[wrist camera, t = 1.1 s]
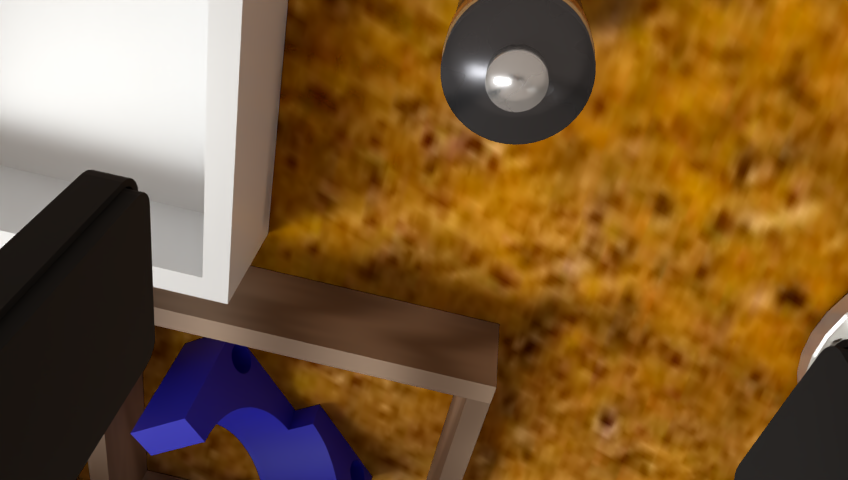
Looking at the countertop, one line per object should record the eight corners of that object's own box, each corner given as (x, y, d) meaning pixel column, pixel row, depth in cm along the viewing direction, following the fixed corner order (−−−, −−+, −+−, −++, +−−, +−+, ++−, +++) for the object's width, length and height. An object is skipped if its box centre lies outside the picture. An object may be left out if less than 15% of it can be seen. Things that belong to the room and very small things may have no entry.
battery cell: (596, -44, 23) (624, 22, 16) (558, 73, 25) (569, 170, 19) (475, -73, 23) (456, -19, 16) (448, 47, 25) (422, 135, 19)
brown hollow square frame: (499, 324, 32) (496, 387, 28) (422, 544, 42) (413, 610, 38) (115, 233, 31) (67, 286, 28) (131, 477, 42) (97, 536, 38)
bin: (304, -184, 22) (251, -177, 17) (268, 233, 30) (227, 304, 26) (-201, -306, 21) (-376, -328, 17) (-88, 149, 30) (-186, 207, 26)
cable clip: (372, 474, 39) (350, 575, 34) (305, 488, 40) (274, 587, 35) (259, 318, 34) (212, 410, 29) (186, 341, 35) (130, 433, 30)
